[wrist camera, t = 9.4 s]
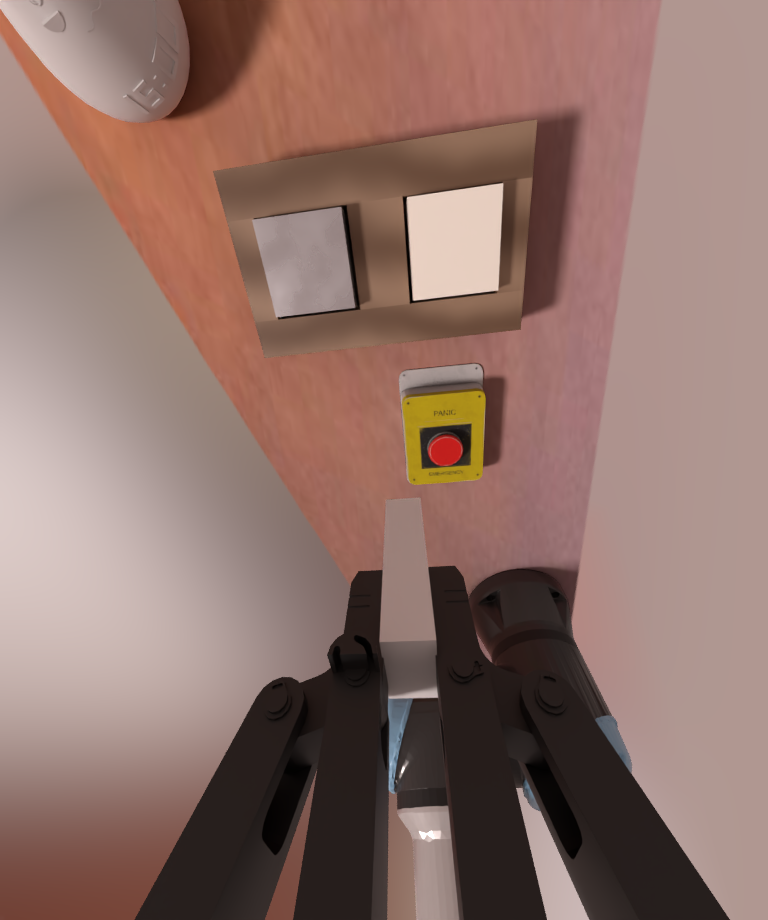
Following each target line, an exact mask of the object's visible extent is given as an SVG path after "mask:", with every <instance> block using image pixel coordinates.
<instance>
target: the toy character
mask: <svg viewBox="0 0 768 920" xmlns="http://www.w3.org/2000/svg"><path fill="white" fill-rule="evenodd" d="M0 9H1V10H2V12H3V13H4V14H5V16H6V17H7V18H8V20H9V21H10V22H11V24H12V25H13V26H14V28H15V29H16V30H17V32H18V33H19V34H20V35H21V37H22V38H23V39H24V40H25V42H26V43H27V44H28V45H29V47H30V48H31V49H32V50H33V52H34V53H35V54H36V55H37V57H38V58H39V59H40V60H41V62H42V63H43V64H44V65H45V66H46V67H47V68H48V69H49V70H50V72H51V73H52V74H53V75H54V76H55V77H56V78H57V79H58V80H59V81H60V82H61V83H62V84H64V85H65V86H66V87H67V88H68V89H69V90H70V91H71V92H73V93H74V94H75V95H76V96H78V97H79V98H80V99H81V100H83V101H84V102H85V103H86V104H88V105H90V106H92V107H94V108H95V109H97V110H99V111H101V112H103V113H105V114H107V115H109V116H111V117H113V118H116V119H119V120H123V121H126V122H139V123H143V122H153V121H157V120H160V119H162V118H164V117H165V116H167V115H169V114H170V113H171V112H172V111H173V110H174V109H175V108H176V107H177V105H178V104H179V102H180V100H181V98H182V96H183V95H184V91H185V88H186V85H187V82H188V76H189V68H190V47H189V40H188V34H187V28H186V24H185V21H184V17H183V14H182V10H181V7H180V4H179V2H178V0H0Z"/></svg>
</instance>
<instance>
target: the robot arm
mask: <svg viewBox="0 0 768 920" xmlns="http://www.w3.org/2000/svg"><path fill="white" fill-rule="evenodd" d="M476 632H477V634H478V636H479V637H480V639H481V641H482V642H483V644H484V646H485V647H486V649H487V651H488V652H489V654H490V656H491V659H492V662H493V663H491V662H490V661H489V660H488V659H487V658H486V657H485V655H484V654H483V652H482V651H481V649H480V646H479V643H478V639H477V634H476ZM327 656H328V659H329V662H330V666H331V668H330V669H329V670H327V671H326V672H325V673H323V674H321V675H319V676H317V677H315V678H312V679H309V680H306V681H304V682H301V683H299V682H298V681H297V680H295V679H293V678H291V677H281V678H279V679H276V680H274V681H272V682H270V683H269V684H268V685H267V686H265V687H264V688H263V689H262V691H261V692H260V693H259V695H258V696H257V697H256V699H255V701H254V703H253V705H252V706H251V708H250V710H249V712H248V714H247V716H246V718H245V719H244V721H243V723H242V725H241V727H240V728H239V730H238V732H237V734H236V736H235V738H234V739H233V741H232V743H231V745H230V747H229V749H228V750H227V752H226V754H225V756H224V758H223V759H222V761H221V763H220V765H219V767H218V769H217V770H216V772H215V774H214V776H213V778H212V779H211V781H210V783H209V785H208V787H207V789H206V790H205V792H204V794H203V796H202V798H201V800H200V801H199V803H198V805H197V807H196V809H195V810H194V812H193V814H192V816H191V818H190V820H189V821H188V823H187V825H186V827H185V829H184V831H183V832H182V834H181V836H180V838H179V840H178V841H177V843H176V845H175V847H174V849H173V851H172V853H171V854H170V856H169V858H168V860H167V862H166V863H165V865H164V867H163V869H162V871H161V873H160V874H159V876H158V878H157V880H156V882H155V883H154V885H153V887H152V889H151V891H150V893H149V894H148V896H147V898H146V900H145V902H144V903H143V905H142V907H141V909H140V911H139V913H138V914H137V916H136V919H135V920H265V917H266V915H267V912H268V909H269V906H270V903H271V900H272V897H273V894H274V891H275V888H276V886H277V882H278V880H279V877H280V874H281V871H282V868H283V866H284V863H285V860H286V857H287V854H288V851H289V848H290V845H291V843H292V839H293V837H294V834H295V831H296V828H297V825H298V822H299V819H300V817H301V813H302V811H303V808H304V805H305V802H306V799H307V796H308V793H309V791H310V788H311V785H312V782H313V779H314V776H315V773H316V770H317V775H316V780H315V787H314V793H313V799H312V806H311V812H310V818H309V825H308V831H307V837H306V843H305V850H304V855H303V861H302V868H301V874H300V880H299V886H298V893H297V899H296V906H295V912H294V918H293V920H387V883H388V882H387V881H388V879H387V877H388V802H389V798H388V797H389V791H390V792H391V793H392V794H395V793H397V811H398V816H399V817H400V819H401V820H402V821H403V823H404V824H405V826H406V827H407V829H408V830H409V831H410V834H411V836H412V839H413V855H414V875H415V896H416V919H417V920H547V918H546V913H545V909H544V905H543V901H542V896H541V892H540V888H539V884H538V880H537V875H536V871H535V867H534V862H533V858H532V854H531V850H530V846H529V841H528V837H527V833H526V828H525V825H524V820H523V816H522V812H521V807H520V803H519V799H518V795H517V790H516V788H523V792H524V796H525V797H526V798H527V800H528V803H529V804H530V805H531V806H532V808H534V809H536V810H538V811H541V813H542V815H543V818H544V820H545V822H546V824H547V827H548V829H549V831H550V833H551V835H552V837H553V840H554V842H555V844H556V846H557V849H558V851H559V853H560V855H561V858H562V860H563V862H564V864H565V866H566V869H567V871H568V873H569V875H570V877H571V880H572V882H573V884H574V886H575V888H576V891H577V893H578V895H579V898H580V900H581V902H582V904H583V906H584V909H585V911H586V913H587V915H588V917H589V919H590V920H730V919H729V918H728V916H727V915H726V913H725V912H724V910H723V909H722V907H721V906H720V904H719V903H718V902H717V900H716V899H715V897H714V896H713V894H712V893H711V891H710V890H709V888H708V887H707V885H706V884H705V882H704V881H703V879H702V878H701V876H700V875H699V873H698V872H697V870H696V869H695V868H694V866H693V865H692V863H691V861H690V860H689V858H688V857H687V856H686V854H685V853H684V851H683V850H682V848H681V847H680V845H679V844H678V842H677V841H676V839H675V838H674V836H673V835H672V833H671V832H670V830H669V829H668V827H667V826H666V825H665V823H664V821H663V820H662V819H661V817H660V816H659V814H658V813H657V811H656V810H655V808H654V807H653V805H652V804H651V803H650V801H649V799H648V798H647V796H646V795H645V793H644V792H643V790H642V789H641V787H640V786H639V784H638V783H637V781H636V780H635V779H634V777H633V776H632V774H631V772H632V763H631V759H630V756H629V753H628V751H627V749H626V746H625V744H624V742H623V740H622V738H621V735H620V733H619V731H618V728H617V727H618V726H617V722H616V720H615V719H614V717H613V716H612V715H611V713H610V711H609V709H608V707H607V705H606V703H605V701H604V699H603V697H602V695H601V693H600V691H599V689H598V687H597V685H596V683H595V681H594V679H593V677H592V675H591V673H590V671H589V669H588V667H587V665H586V663H585V661H584V659H583V657H582V655H581V653H580V651H579V649H578V647H577V645H576V643H575V641H574V638H573V631H572V624H571V616H570V609H569V603H568V600H567V597H566V595H565V594H564V592H563V590H562V588H561V586H560V585H559V583H558V582H557V581H556V580H555V579H553V578H552V577H550V576H549V575H547V574H544V573H541V572H538V571H533V570H512V571H506V572H502V573H499V574H496V575H494V576H492V577H490V578H488V579H486V580H484V581H483V582H482V583H480V584H479V585H478V586H477V587H476V588H475V589H474V590H473V592H472V593H471V595H470V597H469V599H468V595H467V592H466V586H465V582H464V578H463V576H462V574H461V573H460V572H459V570H458V569H457V568H456V567H455V566H441V567H428V562H427V553H426V544H425V535H424V526H423V517H422V508H421V500H420V498H406V499H391V500H386V512H385V533H384V554H383V570H376V571H358V573H357V575H356V576H355V578H354V579H353V581H352V583H351V589H350V598H349V602H348V609H347V616H346V623H345V630H344V634H343V635H341V636H340V637H338V638H337V639H336V640H335V641H334V642H333V644H332V645H331V646H330V649H329V652H328V654H327Z"/></svg>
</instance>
